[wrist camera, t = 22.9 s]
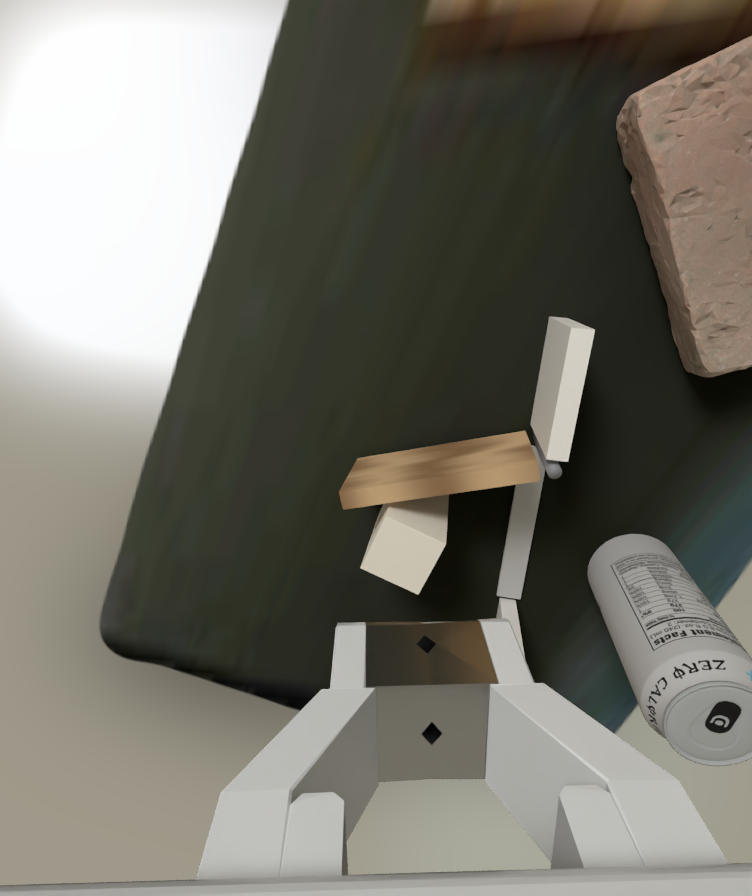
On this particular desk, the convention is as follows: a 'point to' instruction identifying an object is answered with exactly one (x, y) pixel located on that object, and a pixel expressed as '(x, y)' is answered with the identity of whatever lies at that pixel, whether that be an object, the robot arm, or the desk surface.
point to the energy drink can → (675, 650)
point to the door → (441, 470)
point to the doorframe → (544, 448)
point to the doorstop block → (408, 541)
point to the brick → (698, 202)
